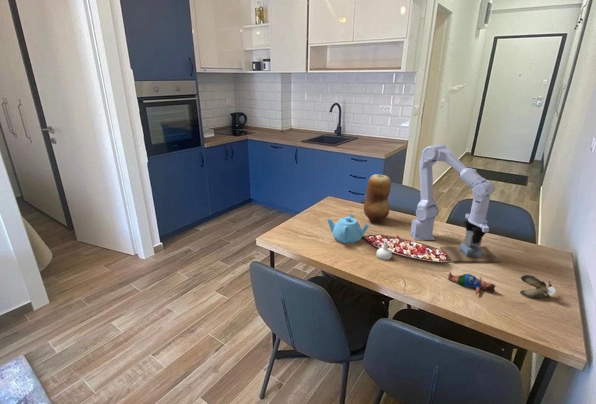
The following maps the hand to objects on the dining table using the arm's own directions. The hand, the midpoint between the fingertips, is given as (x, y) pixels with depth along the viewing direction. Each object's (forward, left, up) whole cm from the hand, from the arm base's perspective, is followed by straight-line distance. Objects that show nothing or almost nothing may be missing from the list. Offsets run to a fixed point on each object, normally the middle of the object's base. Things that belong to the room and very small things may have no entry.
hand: (472, 240), depth 133 cm
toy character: (-11, -22, -8) cm, 25 cm away
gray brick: (0, 0, -2) cm, 2 cm away
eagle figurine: (+9, -27, -8) cm, 29 cm away
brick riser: (0, 0, -7) cm, 7 cm away
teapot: (-50, +17, -8) cm, 53 cm away
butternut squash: (-32, +38, -7) cm, 50 cm away
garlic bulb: (-37, -1, -8) cm, 38 cm away
